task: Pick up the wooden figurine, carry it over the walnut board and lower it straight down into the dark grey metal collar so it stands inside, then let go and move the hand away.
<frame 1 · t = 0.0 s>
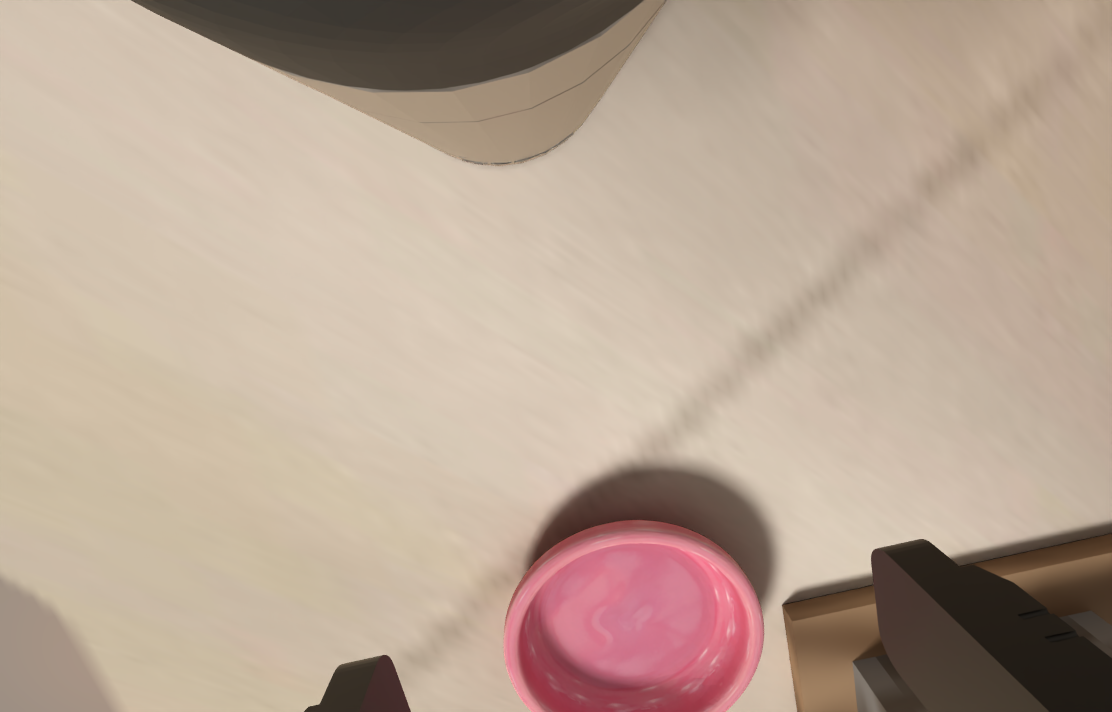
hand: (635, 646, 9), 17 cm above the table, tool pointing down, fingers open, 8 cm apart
collar board: (958, 701, 32), on the table
saucer: (624, 600, 30), on the table
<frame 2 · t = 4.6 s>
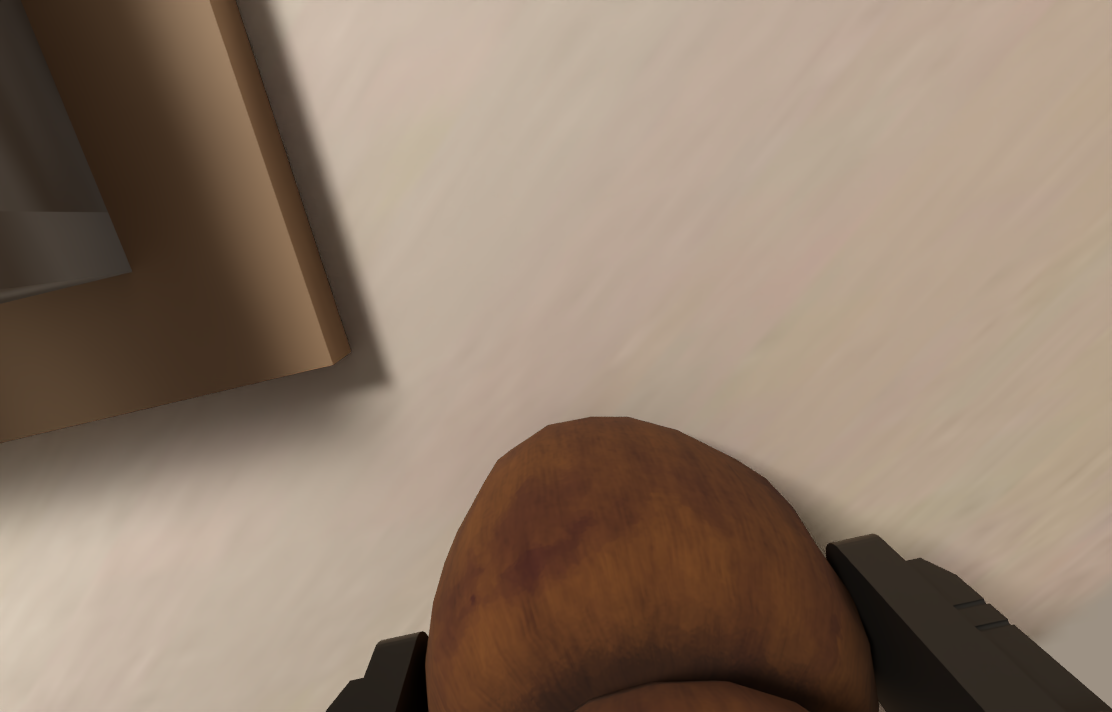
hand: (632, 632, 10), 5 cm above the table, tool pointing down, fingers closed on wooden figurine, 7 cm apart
wooden figurine: (603, 491, 15), on the table, touching gripper
when the fingers open (7 cm above the table, at t = 12.8 s): wooden figurine stays where it is, resting on collar board.
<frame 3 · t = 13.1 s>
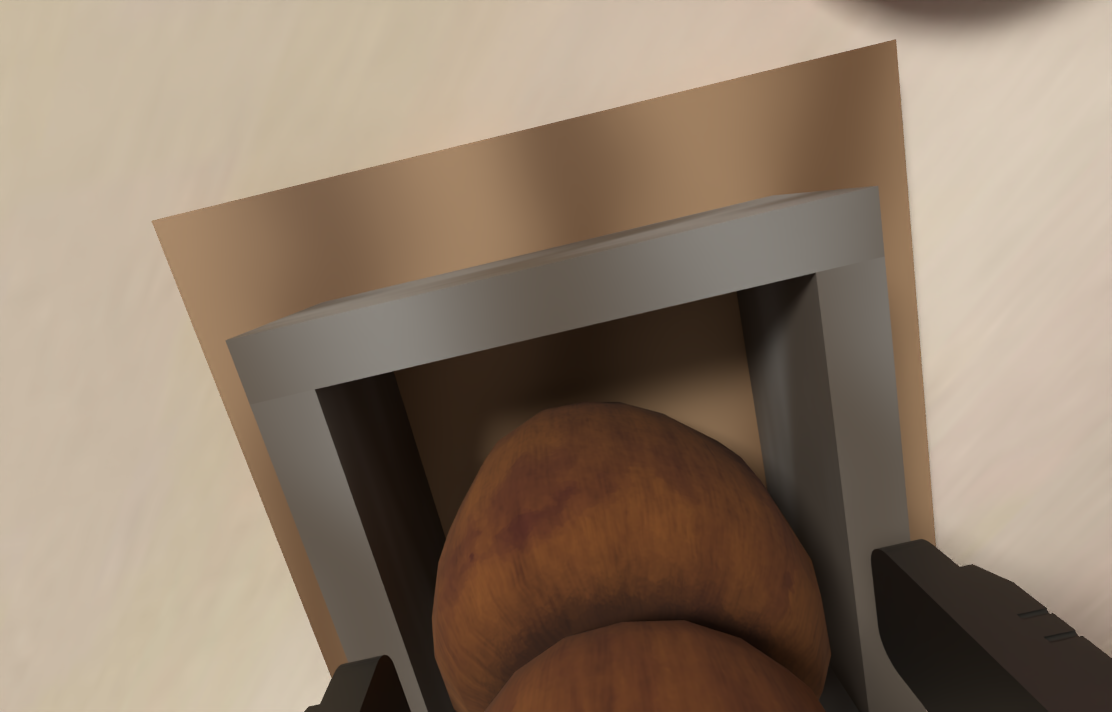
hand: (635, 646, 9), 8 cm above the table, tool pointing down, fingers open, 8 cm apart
wooden figurine: (599, 471, 16), point 1 cm above the table, touching collar board
collar board: (592, 456, 17), on the table
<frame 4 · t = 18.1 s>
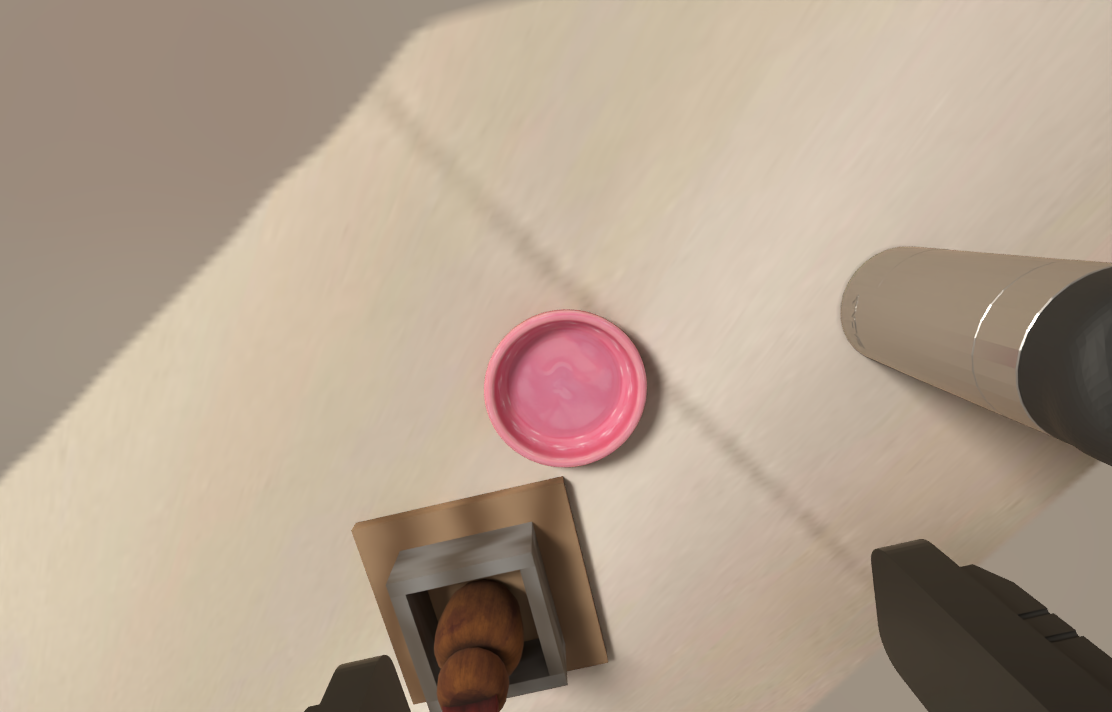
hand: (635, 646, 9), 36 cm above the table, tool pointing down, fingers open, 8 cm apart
wooden figurine: (485, 597, 49), point 1 cm above the table, touching collar board
collar board: (485, 590, 50), on the table
saucer: (564, 380, 46), on the table
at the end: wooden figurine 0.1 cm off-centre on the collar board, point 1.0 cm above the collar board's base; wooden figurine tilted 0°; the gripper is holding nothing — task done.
